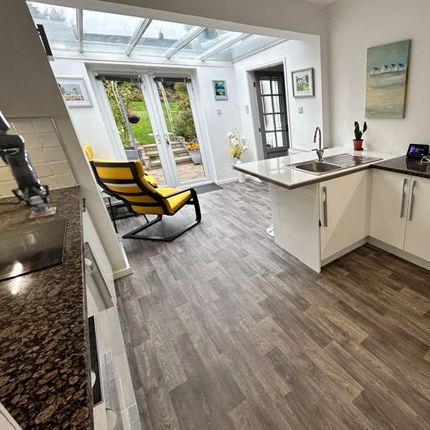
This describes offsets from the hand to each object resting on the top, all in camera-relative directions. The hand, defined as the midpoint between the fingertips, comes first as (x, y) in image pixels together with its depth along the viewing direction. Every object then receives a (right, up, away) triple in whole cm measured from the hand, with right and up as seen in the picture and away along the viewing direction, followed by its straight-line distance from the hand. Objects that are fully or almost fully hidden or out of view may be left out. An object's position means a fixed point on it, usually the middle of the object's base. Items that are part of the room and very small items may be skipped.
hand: (38, 205), depth 142 cm
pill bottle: (0, -4, +2) cm, 5 cm away
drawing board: (-1, -4, +4) cm, 6 cm away
